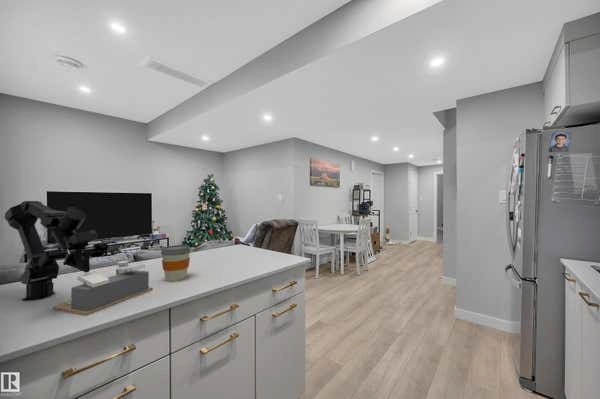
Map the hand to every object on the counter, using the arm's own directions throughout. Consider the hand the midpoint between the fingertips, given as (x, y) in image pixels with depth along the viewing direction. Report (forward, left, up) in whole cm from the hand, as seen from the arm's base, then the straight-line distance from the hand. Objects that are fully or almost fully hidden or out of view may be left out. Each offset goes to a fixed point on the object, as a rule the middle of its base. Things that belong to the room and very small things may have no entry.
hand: (87, 271), depth 84 cm
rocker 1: (+2, -1, -3) cm, 4 cm away
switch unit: (+3, +6, -12) cm, 14 cm away
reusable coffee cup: (+21, +27, -12) cm, 37 cm away
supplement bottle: (-1, +26, -12) cm, 29 cm away
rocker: (+9, +11, -3) cm, 15 cm away
